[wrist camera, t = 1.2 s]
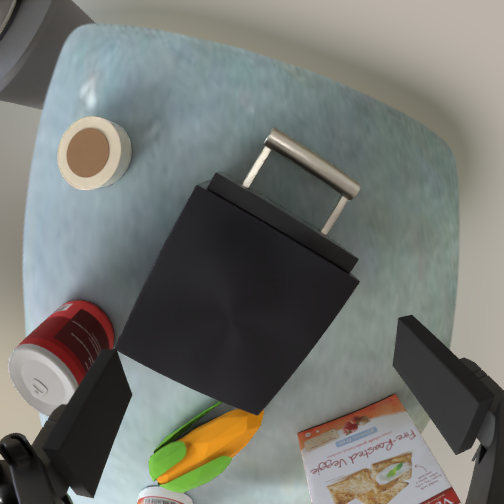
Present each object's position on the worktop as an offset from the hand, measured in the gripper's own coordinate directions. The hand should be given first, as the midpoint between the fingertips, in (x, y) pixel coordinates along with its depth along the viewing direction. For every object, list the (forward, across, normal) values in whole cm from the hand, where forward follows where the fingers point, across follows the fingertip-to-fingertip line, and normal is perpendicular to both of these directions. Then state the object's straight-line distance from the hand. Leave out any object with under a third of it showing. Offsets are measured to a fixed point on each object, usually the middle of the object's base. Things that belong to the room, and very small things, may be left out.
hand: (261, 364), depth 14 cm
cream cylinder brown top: (+17, -13, +12) cm, 25 cm away
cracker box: (+18, +11, -25) cm, 32 cm away
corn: (+18, -8, -22) cm, 29 cm away
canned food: (+18, -19, -6) cm, 26 cm away
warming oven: (+17, -2, -2) cm, 18 cm away
